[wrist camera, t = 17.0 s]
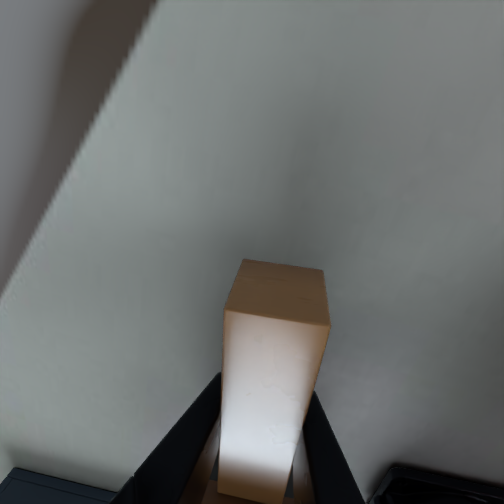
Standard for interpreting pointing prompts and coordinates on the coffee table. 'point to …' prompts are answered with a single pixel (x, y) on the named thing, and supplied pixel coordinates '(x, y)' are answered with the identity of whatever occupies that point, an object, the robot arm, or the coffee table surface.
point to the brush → (267, 379)
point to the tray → (48, 490)
